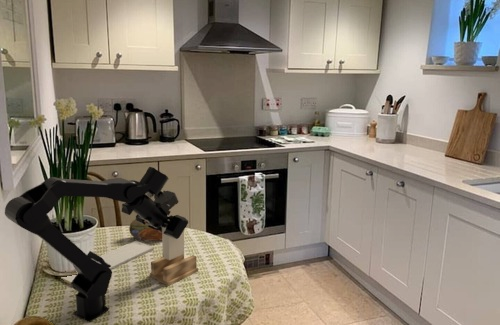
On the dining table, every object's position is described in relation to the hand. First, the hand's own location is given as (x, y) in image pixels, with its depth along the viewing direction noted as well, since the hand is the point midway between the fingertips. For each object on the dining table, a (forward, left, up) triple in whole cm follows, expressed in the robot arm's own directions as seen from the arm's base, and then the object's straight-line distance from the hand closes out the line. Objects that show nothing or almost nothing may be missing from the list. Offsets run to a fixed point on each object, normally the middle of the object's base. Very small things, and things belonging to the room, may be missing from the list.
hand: (176, 233), depth 125 cm
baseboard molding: (-7, +24, -14) cm, 29 cm away
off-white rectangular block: (-1, 0, -7) cm, 7 cm away
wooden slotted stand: (-1, 0, -13) cm, 13 cm away
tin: (+14, +25, -14) cm, 32 cm away
